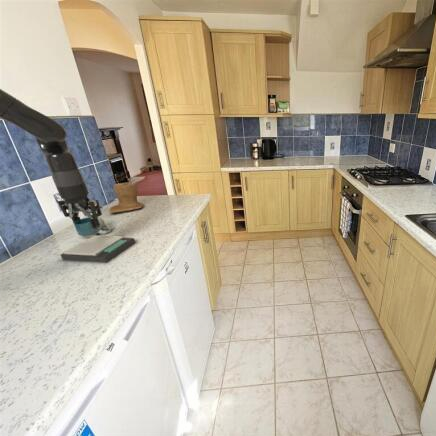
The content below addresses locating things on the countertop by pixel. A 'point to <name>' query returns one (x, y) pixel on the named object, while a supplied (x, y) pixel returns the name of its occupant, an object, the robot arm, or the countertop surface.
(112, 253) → the scale
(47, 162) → the robot arm
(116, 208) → the brown upright piece
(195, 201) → the countertop surface
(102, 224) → the ceramic mug
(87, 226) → the bowl
